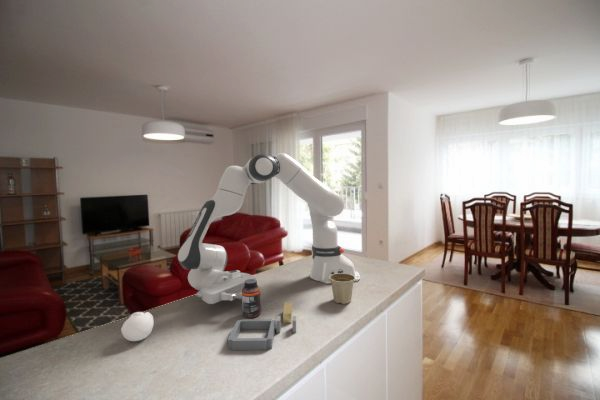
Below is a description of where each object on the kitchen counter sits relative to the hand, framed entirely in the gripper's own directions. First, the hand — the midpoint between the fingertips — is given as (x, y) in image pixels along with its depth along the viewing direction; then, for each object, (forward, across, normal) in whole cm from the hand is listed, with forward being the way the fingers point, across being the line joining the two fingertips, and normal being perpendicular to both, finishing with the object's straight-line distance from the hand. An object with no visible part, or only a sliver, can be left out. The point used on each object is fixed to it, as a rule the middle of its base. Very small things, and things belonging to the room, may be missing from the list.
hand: (245, 293), depth 93 cm
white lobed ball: (-12, -29, +6) cm, 32 cm away
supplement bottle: (+3, 0, +7) cm, 7 cm away
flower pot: (+22, +27, +7) cm, 35 cm away
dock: (+16, -8, +6) cm, 19 cm away
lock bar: (+14, +6, +6) cm, 16 cm away
